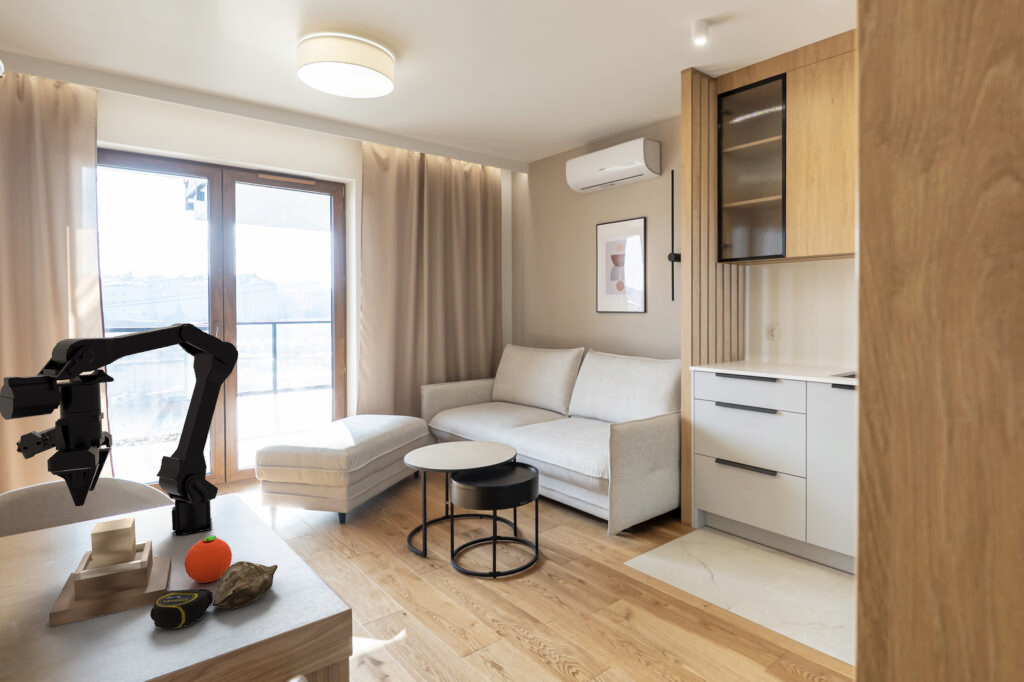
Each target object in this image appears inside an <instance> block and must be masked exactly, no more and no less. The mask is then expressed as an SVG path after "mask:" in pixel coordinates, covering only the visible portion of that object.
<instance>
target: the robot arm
mask: <svg viewBox="0 0 1024 682" xmlns="http://www.w3.org/2000/svg"><path fill="white" fill-rule="evenodd" d="M176 345H178V346H179V347H180V348H181V349H182V350H183V351H185V352H186V353H187V354H189V355H190V356H191V357H193V363H192V366H193V371H194V376H195V384H194V387H193V391H192V395H191V399H190V401H189V405H188V408H187V412H186V415H185V420H184V423H183V426H182V430H181V434H180V438H179V441H178V445H177V448H176V450H175V451H174V452H173V453H172V454H171V455H170V456H167V455H164V456H162V458H161V461H160V462H161V463H160V468H159V470H158V472H157V473H156V477H158V485H159V487H160V488H161V490H163V491H164V492H165V493H167V495H168V497H169V499H171V500H174V506H173V507H172V508H171V528H172V531H174V536H182V535H188V534H194V533H199V532H206V531H210V530H212V529H213V522H212V514H211V513H212V511H211V501H212V500H215V499H216V498H217V494H218V492H219V491H218V490H219V489H218V487H217V486H215V485H214V484H213V483H211V482H210V481H208V480H207V479H206V478H207V475H206V474H207V463H206V458H205V448H206V444H207V440H208V437H209V436H208V435H209V433H210V429H211V426H212V422H213V418H214V414H215V410H216V406H217V403H218V399H219V396H220V392H221V388H222V385H223V383H225V381H226V380H227V379H228V378H229V376H231V374H232V373H233V371H234V368H235V367H236V365H237V361H238V359H239V351H238V350H237V347H236V346H235V345H234V344H233V343H231V342H229V341H224V340H221V339H220V338H218V337H217V336H214V335H212V334H210V333H208V332H205V331H203V330H202V329H200V328H198V327H197V326H196V325H194V324H192V323H189V322H184V323H183V322H182V323H181V322H179V323H178V322H176V323H173V324H171V325H167V326H161V327H157V328H152V329H151V328H150V329H147V330H141V331H137V332H131V333H126V334H122V335H121V334H120V335H116V336H109V337H107V336H106V337H80V338H78V337H76V338H75V337H74V338H65V339H62V340H59V341H58V342H56V344H55V346H54V347H53V349H52V351H51V357H50V359H49V360H48V361H47V362H46V363H45V365H44V366H43V367H42V368H41V369H40V370H39V372H38V373H37V374H36V375H33V376H32V375H31V376H5V377H3V385H2V386H1V388H0V415H1V417H2V418H3V419H4V420H5V421H10V420H15V419H16V420H17V419H24V418H32V417H40V416H46V415H52V414H53V412H54V411H55V410H58V409H59V418H57V419H56V421H54V424H55V425H54V426H53V427H50V428H47V429H45V430H42V431H39V432H37V431H35V430H32V431H31V432H28V433H24V434H22V435H20V439H19V440H18V441H17V442H16V443H15V444H16V446H17V448H16V452H17V453H19V454H22V457H23V458H24V459H25V460H28V459H32V458H34V457H35V456H36V455H38V454H41V453H44V452H46V451H48V450H51V449H54V448H55V453H54V454H53V455H51V456H50V457H49V458H48V459H47V460H46V461H47V472H50V474H51V475H53V476H57V477H60V478H61V479H63V480H64V482H65V484H66V485H67V489H68V491H69V494H70V497H71V499H72V501H73V504H74V506H75V507H83V506H84V505H85V503H86V501H87V497H88V496H89V494H90V492H92V491H94V490H95V489H96V485H97V484H98V481H99V479H100V476H101V473H102V471H103V469H104V466H105V464H106V461H107V459H108V457H109V454H110V452H111V450H112V448H111V447H112V446H113V435H112V434H111V433H109V432H108V431H106V430H105V431H103V422H102V421H103V419H104V415H105V414H104V412H102V397H101V396H102V395H101V384H105V383H112V382H114V381H115V378H114V377H113V376H111V375H109V374H108V373H106V372H105V371H104V370H103V369H102V368H104V367H106V366H108V365H111V364H113V363H115V362H116V361H118V360H119V359H122V358H124V357H128V356H133V355H137V354H140V353H141V354H142V353H145V352H149V351H154V350H160V349H163V348H166V347H172V346H176ZM90 372H91V373H90ZM84 373H85V374H84ZM87 373H88V374H87ZM58 381H59V382H58ZM60 381H61V382H60ZM102 446H103V448H102ZM104 446H105V447H104Z"/></svg>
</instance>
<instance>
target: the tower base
mask: <svg viewBox="0 0 1024 682" xmlns="http://www.w3.org/2000/svg"><path fill="white" fill-rule="evenodd" d="M153 555H154V553H153V540H152V539H151V540H146V541H141V542H136V555H135V558H134V561H132V562H127V563H122V564H116V565H111V566H105V567H100V568H94V569H93V562H92V550H88V551H85V553H84V554H83V555H82V558H81V560H80V562H79V563H78V565H77V566H76V569H75V571H74V572H70V574H69V576H68V578H67V580H66V581H65V583H64V585H63V587H62V589H61V591H60V593H59V595H58V596H57V598H56V600H55V602H54V603H53V605H52V607H51V608H50V611H49V613H48V615H49V617H48V618H49V619H48V621H49V628H51V627H56V626H62V625H66V624H70V623H74V622H79V621H83V620H89V619H93V618H97V617H102V616H106V615H111V614H116V613H121V612H124V611H130V610H134V609H137V608H139V609H140V608H143V607H144V608H145V607H148V606H151V605H153V606H154V603H155V602H156V600H157V599H158V598H160V597H162V596H163V594H164V593H165V592H166V591H169V586H170V585H169V584H170V578H171V574H172V573H171V572H172V554H166V555H162V556H156V557H154V556H153Z"/></svg>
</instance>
